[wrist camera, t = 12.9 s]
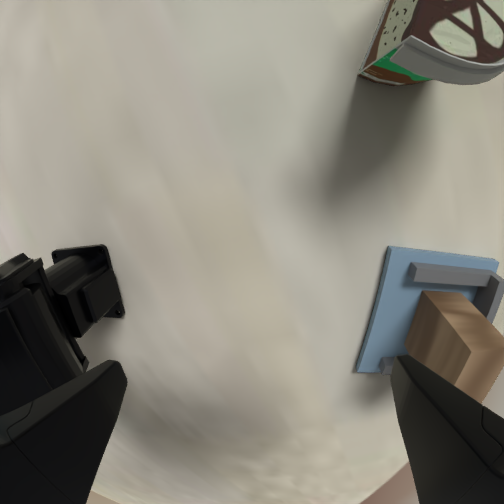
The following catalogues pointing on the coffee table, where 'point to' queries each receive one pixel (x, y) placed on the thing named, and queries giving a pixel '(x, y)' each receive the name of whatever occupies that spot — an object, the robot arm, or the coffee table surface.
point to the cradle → (409, 291)
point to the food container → (437, 42)
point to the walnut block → (456, 342)
